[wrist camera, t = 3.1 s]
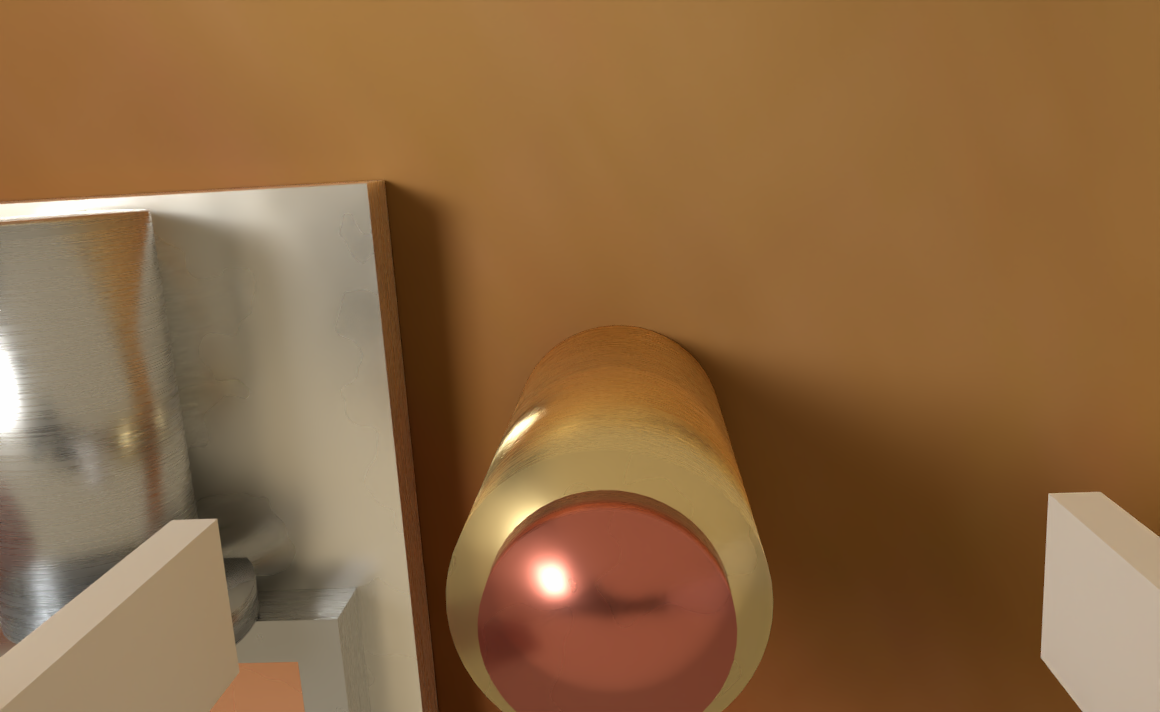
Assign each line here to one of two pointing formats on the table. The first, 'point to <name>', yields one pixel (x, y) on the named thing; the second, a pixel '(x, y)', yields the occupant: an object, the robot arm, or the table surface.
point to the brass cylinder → (612, 541)
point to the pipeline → (220, 425)
